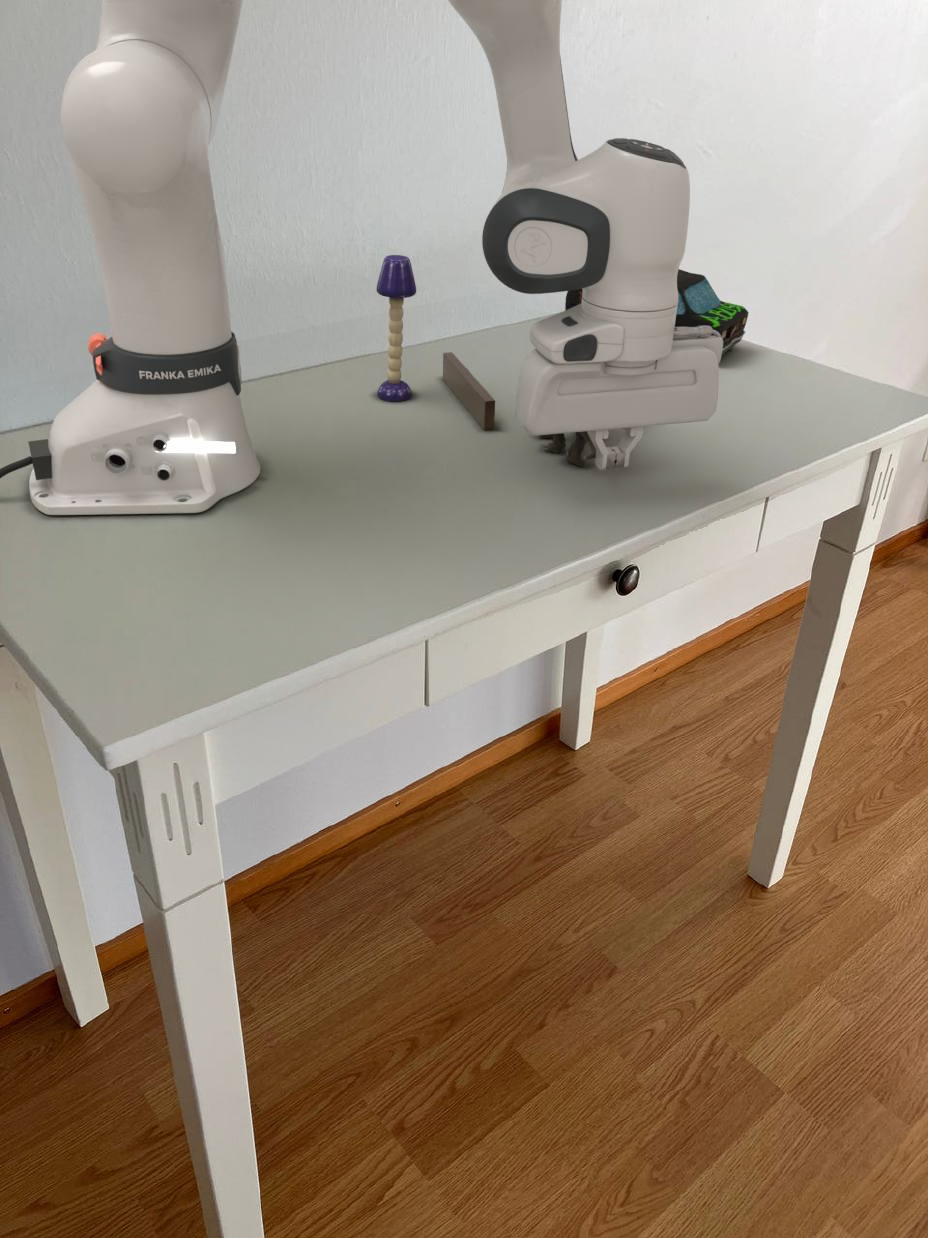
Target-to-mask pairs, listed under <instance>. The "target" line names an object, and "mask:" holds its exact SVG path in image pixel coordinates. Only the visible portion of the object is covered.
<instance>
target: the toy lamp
mask: <svg viewBox="0 0 928 1238" xmlns="http://www.w3.org/2000/svg"><path fill="white" fill-rule="evenodd" d="M415 280H416V279H415V275H414V271H413V267H412V262H411V259H410V258H409V257H408V256H406V255H401V254H389V255H387V256H385V257H384V259H383V262H382V265H381V269H380V273H379V276H378V279H377V283H376V293H377V294H378V295H379V296H382V297H386V298H388V302H389V305H390V307H389V310H388V316H389V321H388V329H389V334H388V343H389V346H388V347H387V353H388V360H387V367H388V371H387V380H385V381H383V382H382V383H380V385H379V387H378V389H377V396H378V398H379V399H381V400H383V401H386V402H387V401H388V402H403V401H407V400H410V399H411V398H412V397H413V393H412V390H411V387H410V385H409V384H408V383H407V382H406V381H403V380H402V371H401V369H402V365H403V359H402V356H403V346H402V344H403V340H404V335H403V333H402V332H403V329H404V322H403V317H404V307H403V306H404V301H405V299H407V298H411V297H414V296H415V295H416V294H417V285H416V281H415Z"/></svg>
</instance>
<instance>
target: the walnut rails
mask: <svg viewBox="0 0 928 1238" xmlns="http://www.w3.org/2000/svg"><path fill="white" fill-rule="evenodd" d="M442 380H443V381H444V382H445V384H446V385H447V387H449V389H450V390H451V391H452V393H453V394H454V395H455V396H456V398H457V399H458V400H459V402H461V404H462V405H463V406H464V407H465V409H466V410H467V411H468V412H469V414H470V415H471V416H472V418H473V419H474V420H475V421H476V422H477V423H478V425H479V426H480V427H481V428H482V430H483V431H492V430H495V417H496V416H495V412H496V400H495V399H494V398H493V396H492V395H491V393H489V392H488V390H486V388H484V386H483V385H482V384H481V383H480V382H479V381H478V379H477V378H476V377H475V376H474V375H473V374H472V373H471V372H470V370H468V368H467V367H466V366H465V365H464V364H463V362H462V361H460V360H459V358H458V357H457V356H456V354H454V353H453V352H452V351H450V352H449V351H447V352H442Z"/></svg>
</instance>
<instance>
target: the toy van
mask: <svg viewBox="0 0 928 1238" xmlns="http://www.w3.org/2000/svg"><path fill="white" fill-rule="evenodd" d="M677 290H678V306H677V313H676V320H675V327H697V326H702V325H706V326H711V327H712V329H713V330H716V331H717V332H719V334H720V335H721V337H722V339H723V349H722V355H723V354H725V353H726V352H727V351H728V350H732V349H733V348H734V347H736V344H738V343H740V342H741V340H742V339H743V337H744V335H745V334H746V331H745V328H746V324H747V321H748V317H749V313H750V312H749V311H748V310H747V309H746V308H745V307H744V306H743V305H738V304H734V303H731V302H726V301H723V300H721V299H720V298H719V297H718V295H717V293H716V292H715V290H714V289H713V287H712V285H711V284H710V282H709V280H708V279H707V277H706V276H705V275H704V274H700V273H694V272H690V271H686V270H683V269H680V268H679V269H678V273H677ZM582 293H583V289H577V290H571V291H566V295H565V302H564V303H565V305H564V311H566V310H568V309H570V308H573V307H575V306H577V305H579V304H581V303H582ZM711 336H715V335H714V334H712V335H711Z"/></svg>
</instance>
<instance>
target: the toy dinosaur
mask: <svg viewBox="0 0 928 1238" xmlns="http://www.w3.org/2000/svg"><path fill="white" fill-rule="evenodd" d="M537 437H539V438H541V439H542V438H543V439H544V438H546V439H548V438H553V439H552V441H551V442H547V443H546V445H545V447H544V448H543V449H544V451H546V452H551V453H556V454H557V453H562V452H563V451H564V450H565V449H566V447H567V443H566V440H567V439H566V436H565V433H560V434H549V435H538V436H537ZM586 443H588V446H589V449H590V451H589V452H587V453H585V454H584V455H583V453H584V450H585V447H586V445H587V444H586ZM582 455H583V457H582ZM565 456H566V457H565V461H566V462H568V463H571V464H574V465H577V466H579V467H587V463H586V461H585V460H584V459H586V460H595V456H596V448H595V447H594V445H593V443H592V441H591V439H590V437H589V435H588V433H587V431H583V432H575V439H574V441H573V442H572V443H571V444H570V446H569V448H568V449H567V451H566V453H565ZM582 458H584V459H582Z"/></svg>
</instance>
